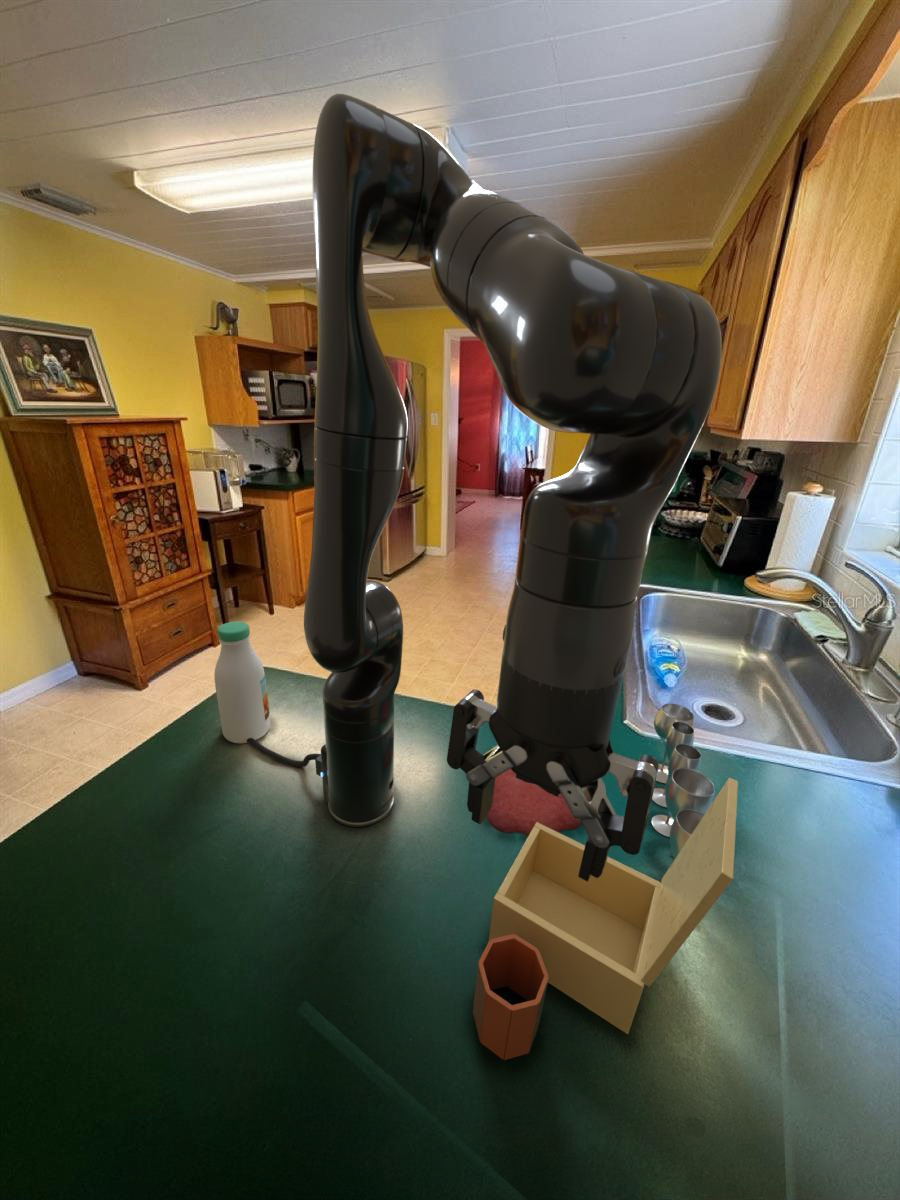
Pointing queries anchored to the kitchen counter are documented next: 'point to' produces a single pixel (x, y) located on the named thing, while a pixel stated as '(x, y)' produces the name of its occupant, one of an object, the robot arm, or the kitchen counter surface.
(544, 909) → the wooden box base
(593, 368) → the robot arm
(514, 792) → the red lobed pad
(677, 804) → the goblet set
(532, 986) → the cup
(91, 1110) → the kitchen counter surface
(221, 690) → the milk bottle
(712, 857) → the wooden box lid
